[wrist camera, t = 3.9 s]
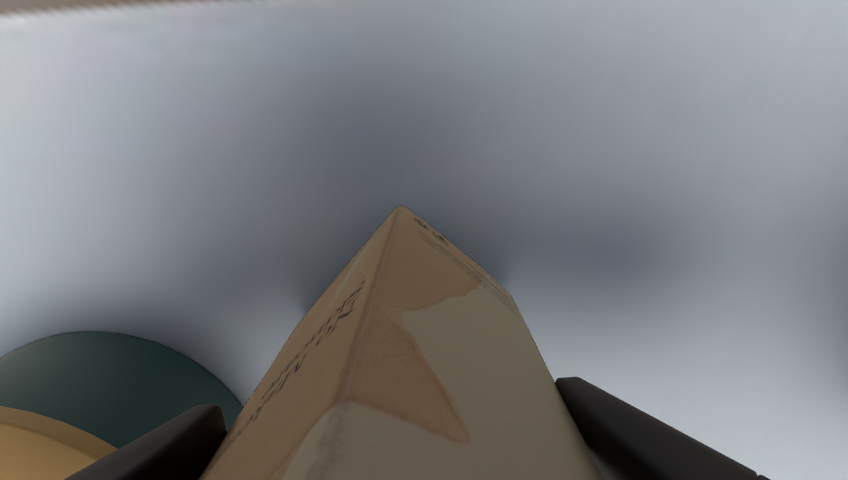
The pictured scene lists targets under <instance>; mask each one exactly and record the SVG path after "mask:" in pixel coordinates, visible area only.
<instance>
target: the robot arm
mask: <svg viewBox="0 0 848 480" xmlns="http://www.w3.org/2000/svg"><path fill="white" fill-rule="evenodd" d="M555 384H556V386H557V388H558V390H559V392H560V394H561V396H562V398H563V400H564V402H565V404H566V406H567V408H568V410H569V412H570V414H571V416H572V418H573V420H574V421H575V423H576V425H577V427H578V429H579V432H580V434H581V436H582V438H583V440H584V442H585V444H586V446H587V448H588V450H589V452H590V454H591V456H592V458H593V460H594V462H595V464H596V466H597V467H598V469H599V471H600V473H601V475H602V477H603V479H604V480H770V479H768V478H767V477H765V476H763V475H758V476H757V474H756V472H755V471H753V470H751V469H749V468H748V467H746V466H744V465H742V464H740V463H738V462H736V461H734V460H733V459H731V458H729V457H727V456H725V455H723V454H721V453H719V452H718V451H716V450H714V449H712V448H710V447H708V446H706V445H704V444H703V443H701V442H699V441H697V440H695V439H693V438H691V437H689V436H688V435H686V434H684V433H682V432H680V431H678V430H676V429H675V428H673V427H671V426H669V425H667V424H665V423H663V422H661V421H660V420H658V419H656V418H654V417H652V416H650V415H648V414H646V413H645V412H643V411H641V410H639V409H637V408H635V407H633V406H631V405H630V404H628V403H626V402H624V401H622V400H620V399H618V398H617V397H615V396H613V395H611V394H609V393H607V392H605V391H603V390H602V389H600V388H598V387H596V386H594V385H592V384H590V383H588V382H587V381H585V380H583V379H581V378H579V377H565V378H558V379H557V380H556V382H555ZM227 434H228V432H227V427H226V423H225V418H224V413H223V410H222V408H221V406H220V405H218V404H206V405H198V406H195V407H193V408H191V409H189V410H188V411H186V412H184V413H182V414H180V415H179V416H177V417H175V418H173V419H171V420H170V421H168V422H166V423H164V424H162V425H161V426H159V427H157V428H155V429H153V430H152V431H150V432H148V433H146V434H144V435H143V436H141V437H139V438H137V439H135V440H134V441H132V442H130V443H128V444H126V445H125V446H123V447H121V448H119V449H117V450H116V451H114V452H112V453H110V454H108V455H107V456H105V457H103V458H101V459H99V460H98V461H96V462H94V463H92V464H90V465H89V466H87V467H85V468H83V469H81V470H80V471H78V472H76V473H74V474H72V475H71V476H69V477H67V478H65V479H63V480H198V479H199V478H200V476H201V475H202V473H203V472H204V470H205V469H206V467H207V466H208V464H209V462H210V461H211V459H212V458H213V456H214V454H215V453H216V451H217V449H218V448H219V446H220V445H221V443H222V441H223V440H224V438H225V437H226V435H227Z"/></svg>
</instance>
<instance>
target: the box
mask: <svg viewBox="0 0 848 480" xmlns="http://www.w3.org/2000/svg"><path fill="white" fill-rule="evenodd" d="M198 480H604V479H603V477H602V475H601V473H600V471H599V469H598V467H597V466H596V464H595V462H594V460H593V458H592V456H591V454H590V452H589V450H588V448H587V446H586V444H585V442H584V440H583V438H582V436H581V434H580V432H579V429H578V427H577V425H576V423H575V421H574V420H573V418H572V416H571V414H570V412H569V410H568V408H567V406H566V404H565V402H564V400H563V398H562V396H561V394H560V392H559V390H558V388H557V386H556V384H555V382H554V380H553V378H552V376H551V374H550V372H549V370H548V368H547V366H546V364H545V362H544V360H543V358H542V356H541V354H540V352H539V350H538V348H537V346H536V344H535V342H534V340H533V338H532V336H531V334H530V331H529V329H528V327H527V325H526V323H525V322H524V319H523V317H522V315H521V314H520V312H519V310H518V308H517V306H516V304H515V302H514V300H513V298H512V296H511V295H510V293H509V292H508V291H507V290H506V289H505V288H503V287H502V286H501V285H500V284H499V283H498V282H497V281H496V280H495V279H493V278H492V277H491V276H490V275H489V274H488V273H487V272H486V271H484V270H483V269H482V268H481V267H480V266H479V265H478V264H476V263H475V262H474V261H473V260H471V259H470V258H469V257H468V256H467V255H466V254H464V253H463V252H462V251H461V250H460V249H458V248H457V247H456V246H455V245H454V244H452V243H451V242H450V241H449V240H447V239H446V238H445V237H444V236H442V235H441V234H440V233H438V232H437V231H436V230H435V229H433V228H432V227H431V226H430V225H429V224H427V223H426V222H425V221H423V220H422V219H421V218H419V217H418V216H417V215H415V214H414V213H413V212H411V211H410V210H409V209H407V208H406V207H404V206H398V207H397V208H396V209H395V210H394V211H393V212H392V213H391V214H390V215H389V216H388V218H387V219H386V220H385V221H384V222H383V223H382V224H381V226H380V227H379V228H378V229H377V230H376V231H375V233H374V234H373V235H372V236H371V237H370V238H369V240H368V241H367V242H366V243H365V244H364V245H363V247H362V248H361V249H360V250H359V251H358V253H357V254H356V255H355V256H354V257H353V258H352V260H351V261H350V262H349V263H348V264H347V265H346V267H345V268H344V269H343V270H342V271H341V273H340V274H339V275H338V276H337V277H336V279H335V280H334V281H333V282H332V283H331V285H330V286H329V287H328V288H327V289H326V291H325V292H324V293H323V294H322V296H321V297H320V298H319V299H318V300H317V302H316V303H315V304H314V305H313V306H312V308H311V309H310V310H309V311H308V313H307V314H306V315H305V316H304V317H303V319H302V320H301V321H300V322H299V324H298V325H297V326H296V328H295V329H294V331H293V332H292V334H291V335H290V337H289V338H288V340H287V341H286V343H285V345H284V346H283V348H282V349H281V351H280V352H279V354H278V356H277V357H276V359H275V360H274V362H273V363H272V365H271V367H270V368H269V370H268V371H267V373H266V375H265V376H264V378H263V379H262V381H261V382H260V384H259V385H258V387H257V388H256V390H255V391H254V393H253V394H252V396H251V397H250V399H249V401H248V402H247V404H246V405H245V407H244V408H243V410H242V411H241V413H240V414H239V416H238V418H237V419H236V421H235V422H234V424H233V426H232V427H231V429H230V430H229V432H228V434H227V435H226V437H225V438H224V440H223V441H222V443H221V445H220V446H219V448H218V449H217V451H216V453H215V454H214V456H213V458H212V459H211V461H210V462H209V464H208V466H207V467H206V469H205V470H204V472H203V473H202V475H201V476H200V478H199V479H198Z"/></svg>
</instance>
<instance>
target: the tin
mask: <svg viewBox="0 0 848 480" xmlns="http://www.w3.org/2000/svg"><path fill="white" fill-rule="evenodd" d="M206 404H218V405H220V406H221V408H222V410H223V413H224V418H225V423H226V427H227V432H229V430H230V429H231V427H232V426H233V424H234V422H235V421H236V419H237V418H238V416H239V414H240V413H241V411H242V410H243V407H242V406H241V405H240V404H239V402H238V401H237V400H236V399H235V397H234V396H233V395H232V393H231V392H230V391H229V390H228V389H227V388H226V387H225V386H224V385H222V384H221V383H220V382H219V381H218V380H217V379H216V378H215V377H214V376H212V375H211V374H210V373H209V372H207V371H206V370H205V369H204V368H202V367H201V366H199V365H198V364H196V363H195V362H193V361H191V360H190V359H188V358H186V357H185V356H183V355H181V354H179V353H177V352H175V351H173V350H171V349H169V348H166V347H164V346H162V345H159V344H156V343H153V342H150V341H147V340H144V339H141V338H137V337H132V336H127V335H123V334H116V333H106V332H74V333H67V334H60V335H54V336H50V337H47V338H43V339H40V340H36V341H34V342H31V343H29V344H27V345H24V346H22V347H20V348H17V349H16V350H14V351H12V352H10V353H8V354H6V355H4V356H2V357H1V358H0V480H63V479H65V478H67V477H69V476H71V475H72V474H74V473H76V472H78V471H80V470H81V469H83V468H85V467H87V466H89V465H90V464H92V463H94V462H96V461H98V460H99V459H101V458H103V457H105V456H107V455H108V454H110V453H112V452H114V451H116V450H117V449H119V448H121V447H123V446H125V445H126V444H128V443H130V442H132V441H134V440H135V439H137V438H139V437H141V436H143V435H144V434H146V433H148V432H150V431H152V430H153V429H155V428H157V427H159V426H161V425H162V424H164V423H166V422H168V421H170V420H171V419H173V418H175V417H177V416H179V415H180V414H182V413H184V412H186V411H188V410H189V409H191V408H193V407H195V406H198V405H206Z"/></svg>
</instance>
